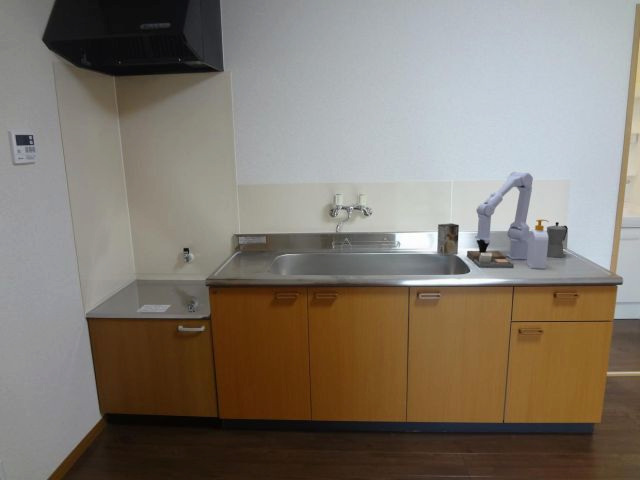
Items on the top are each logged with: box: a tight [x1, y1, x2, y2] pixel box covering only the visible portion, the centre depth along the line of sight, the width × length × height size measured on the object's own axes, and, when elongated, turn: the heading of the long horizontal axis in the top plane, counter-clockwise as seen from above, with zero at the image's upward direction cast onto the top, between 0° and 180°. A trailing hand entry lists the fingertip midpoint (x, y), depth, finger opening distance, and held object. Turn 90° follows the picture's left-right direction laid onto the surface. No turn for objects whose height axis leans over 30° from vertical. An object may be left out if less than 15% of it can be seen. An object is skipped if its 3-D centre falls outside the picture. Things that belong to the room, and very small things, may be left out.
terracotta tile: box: [494, 259, 509, 264], centre depth 225 cm, size 5×5×2 cm
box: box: [473, 258, 514, 269], centre depth 226 cm, size 16×10×2 cm, turn 87°
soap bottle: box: [526, 219, 550, 270], centre depth 221 cm, size 9×7×23 cm
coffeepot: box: [546, 221, 569, 259], centre depth 243 cm, size 15×9×18 cm, turn 118°
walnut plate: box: [466, 250, 507, 263], centre depth 237 cm, size 16×12×3 cm
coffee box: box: [436, 223, 460, 256], centre depth 249 cm, size 9×6×16 cm
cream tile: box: [479, 253, 492, 263], centre depth 227 cm, size 5×5×2 cm
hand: (482, 254), depth 232 cm, fingers closed
